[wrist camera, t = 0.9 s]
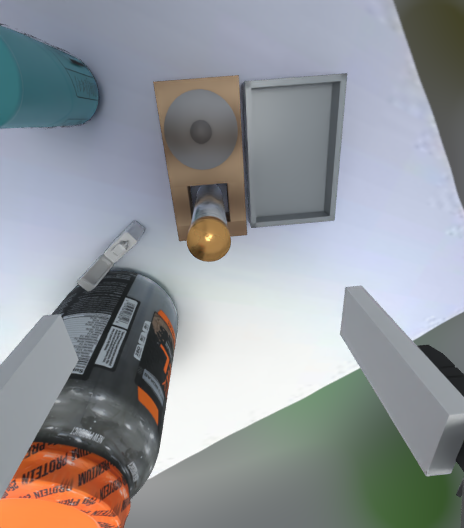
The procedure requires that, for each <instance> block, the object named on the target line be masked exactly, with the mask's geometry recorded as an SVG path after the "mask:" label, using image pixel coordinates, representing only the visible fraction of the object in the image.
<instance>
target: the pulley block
mask: <svg viewBox="0 0 464 528" xmlns="http://www.w3.org/2000/svg"><path fill="white" fill-rule="evenodd" d="M153 83H154V89H155V96H156V102H157V108H158V114H159V120H160V126H161V133H162V139H163V145H164V151H165V157H166V163H167V169H168V176H169V182H170V188H171V194H172V200H173V206H174V212H175V219H176V225H177V231H178V237H179V241H186V240H187V236H188V231H189V228H190V226H191V222H192V217H193V211H194V209H193V202H192V194H191V187H190V186H198V185H209V184H221V183H227V196H228V209H229V212H225V214H226V221H227V227H228V229H229V232H230V236H242V235H247V227H246V208H245V188H244V169H243V150H242V130H241V111H240V92H239V75H236V76H223V77H210V78H196V79H183V80H170V81H157V82H153Z"/></svg>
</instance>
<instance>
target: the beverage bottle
mask: <svg viewBox="0 0 464 528" xmlns="http://www.w3.org/2000/svg"><path fill="white" fill-rule="evenodd" d="M1 25H4V24H1V23H0V129H1V128H23V127H47V128H49V127H52V128H53V126H55V127H56V126H61V127H62V126H63V127H64V126H67V127H68V125H72V126H73V125H75V126H77V125H78V124H82V123H83V124H84V122H86V121H88V120H89V119H90V118H91V117H92V116H93V114H94V113H95V111H96V109H97V106H98V101H99V100H98V98H99V96H98V92H99V91H98V89H97V87H98V86H97V85H96V84H97V83H96V82H95V81H96V80H94V79H95V78H93V76H92V74H91V73H92V72H91V73H90V71H89V70H90V69H88V68H87V67H86V66H87V65H86V66H85V64H83V62H82V61H79V60H81V59H79V60H78V59H77V58H75V57H73V56H71V55H69V54H67V53H65V52H63V50H62V49H61V50H62V51H60V50H58V49H60V48H58V47H56V46H55V47H56V48H58V49H56V48H54V47H51V46H52V45H51V46H49V45H46V44H47V42H46V43H45V44H44V43H42V42H43V41H42V42H39V41H37V39H36V37H35V39H36V40H35V39H33V38H34V36H33V38H30V37H28V36H29V35H28V36H26V35H23V34H22V33H21V32H20V33H19V32H16V31H14V30H11V29H9V28H6V27H3V26H1ZM15 29H16V28H15ZM22 32H23V31H22ZM24 34H25V32H24ZM30 36H32V35H30ZM40 41H41V40H40ZM44 42H45V41H44ZM53 46H54V45H53ZM64 51H65V50H64ZM66 52H67V51H66ZM68 53H69V52H68ZM89 121H90V120H89Z"/></svg>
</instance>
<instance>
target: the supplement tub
mask: <svg viewBox="0 0 464 528" xmlns="http://www.w3.org/2000/svg"><path fill="white" fill-rule="evenodd" d="M56 314H61V317H62V319H63V322H64V324H65V327H66V329H67V332H68V334H69V337H70V339H71V342H72V344H73V347H74V349H75V352H76V354H77V357H78V359H79V360H78V362H77V364H76V366H75V367H74V369H73V371H72V373H71V374H70V376H69V378H68V380H67V382H66V383H65V385H64V387H63V389H62V391H61V392H60V394H59V396H58V398H57V399H56V401H55V403H54V405H53V407H52V408H51V410H50V412H49V414H48V416H47V417H46V419H45V421H44V423H43V425H42V426H41V428H40V430H39V432H38V433H37V435H36V437H35V439H34V441H33V442H32V444H31V446H30V448H29V450H28V451H27V453H26V455H25V457H24V458H23V460H22V462H21V464H20V466H19V467H18V469H17V471H16V473H15V475H14V476H13V478H12V480H11V482H10V483H9V485H8V487H7V489H6V491H5V492H4V494H3V496H2V498H1V500H0V528H124V525H125V521H126V518H127V517H128V514H129V511H130V499H131V498H132V497H133V496H134V495H135V494H136V493H137V492H138V491H139V490H140V489H141V487H142V486H143V485H144V483H145V482H146V480H147V479H148V477H149V476H150V474H151V472H152V470H153V468H154V465H155V463H156V460H157V456H158V453H159V448H160V442H161V435H162V429H163V422H164V415H165V409H166V402H167V395H168V388H169V382H170V375H171V368H172V362H173V355H174V349H175V342H176V336H177V329H178V316H177V311H176V308H175V306H174V303H173V302H172V300H171V298H170V297H169V295H168V294H167V293H166V292H165V290H164V289H162V288H161V287H160V286H159V285H158V284H157V283H155V282H154V281H152V280H151V279H149V278H147V277H145V276H143V275H140V274H137V273H133V272H129V271H108V273H107V274H106V275H105V276H104V277H103V279H102V280H101V281H100V282H99V283H98V285H97V286H96V287H95V288H94V289H92V290H91V291H87V290H85V289H84V288H83V287H81V286H80V285H79V284H78V285H77V286H76V287H75V288H74V289H73V290H72V291H71V292H70V293H69V294H68V295H67V297H66V298H65V299H64V300H63V302H62V303H61V304H60V305H59V306H58V308H57V309H56V310H55V311H54V312H53V314H52V315H56Z"/></svg>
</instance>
